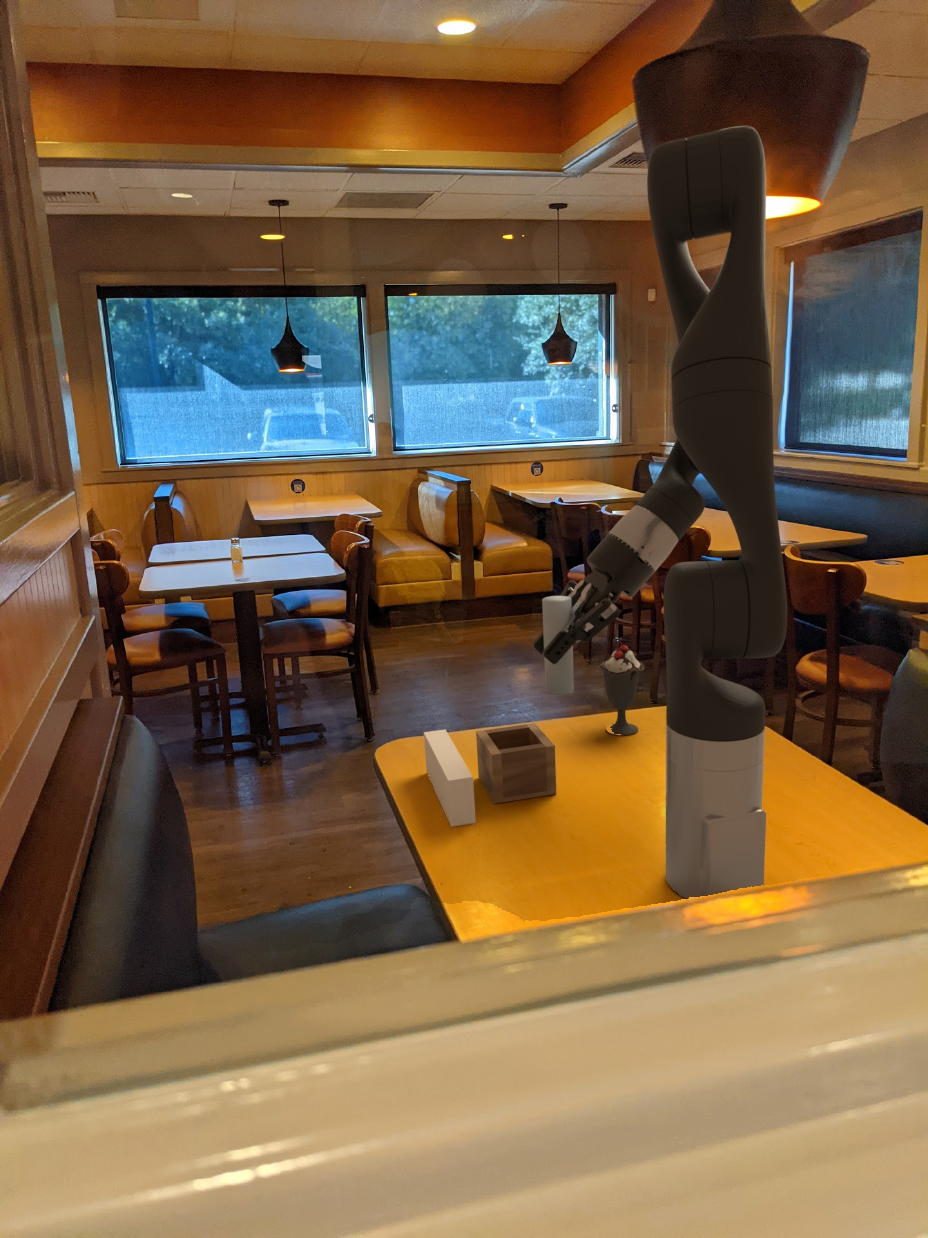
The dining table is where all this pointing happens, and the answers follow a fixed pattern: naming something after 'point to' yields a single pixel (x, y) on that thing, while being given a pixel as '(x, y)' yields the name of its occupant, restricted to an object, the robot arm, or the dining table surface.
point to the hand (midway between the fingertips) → (543, 654)
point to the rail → (450, 778)
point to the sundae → (622, 685)
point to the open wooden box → (516, 762)
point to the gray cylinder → (554, 620)
